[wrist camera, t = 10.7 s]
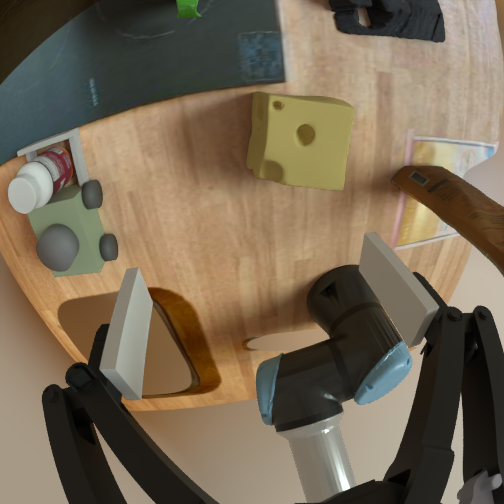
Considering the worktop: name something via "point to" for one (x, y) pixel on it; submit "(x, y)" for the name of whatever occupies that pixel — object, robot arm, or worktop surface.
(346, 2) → the dark slate chunk
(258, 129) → the cheese
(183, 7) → the snack cup
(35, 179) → the pill bottle
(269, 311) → the worktop surface
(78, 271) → the toy lawn mower
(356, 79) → the worktop surface
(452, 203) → the pancake mix bag
